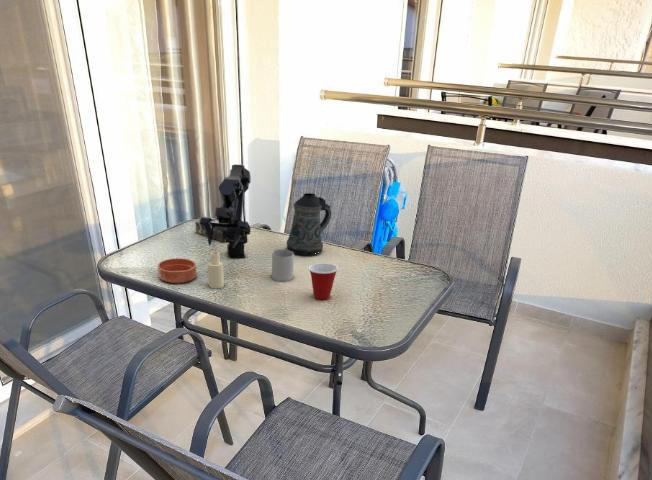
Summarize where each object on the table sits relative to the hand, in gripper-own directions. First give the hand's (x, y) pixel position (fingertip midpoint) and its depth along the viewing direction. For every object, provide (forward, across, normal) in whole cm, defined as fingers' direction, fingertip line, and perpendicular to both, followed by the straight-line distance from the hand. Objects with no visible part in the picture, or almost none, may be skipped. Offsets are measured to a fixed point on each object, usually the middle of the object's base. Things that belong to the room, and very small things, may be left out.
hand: (221, 246), depth 191 cm
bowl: (+12, -17, +7) cm, 22 cm away
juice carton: (-25, -18, +44) cm, 54 cm away
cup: (+4, +22, +15) cm, 27 cm away
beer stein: (-21, +26, +40) cm, 52 cm away
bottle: (+14, 0, +4) cm, 15 cm away
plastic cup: (+14, +40, +5) cm, 43 cm away
